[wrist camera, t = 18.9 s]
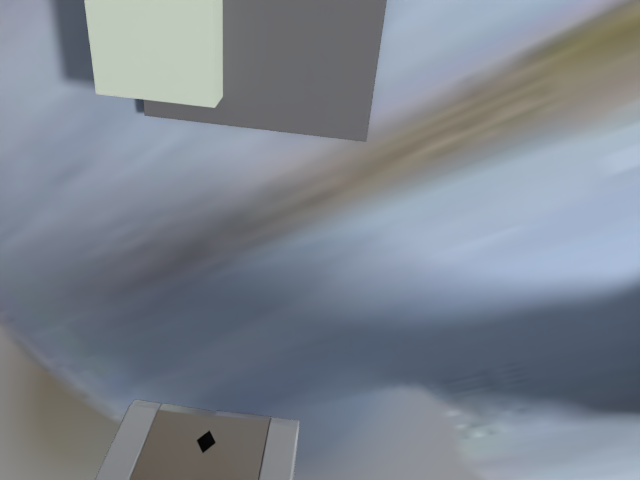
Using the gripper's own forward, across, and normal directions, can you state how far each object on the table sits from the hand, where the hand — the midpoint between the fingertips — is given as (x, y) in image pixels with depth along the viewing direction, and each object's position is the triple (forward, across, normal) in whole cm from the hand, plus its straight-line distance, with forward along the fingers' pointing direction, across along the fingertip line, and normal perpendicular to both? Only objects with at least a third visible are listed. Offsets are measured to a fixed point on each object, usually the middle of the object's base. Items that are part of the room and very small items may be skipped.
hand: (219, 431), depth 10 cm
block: (+26, +6, 0) cm, 26 cm away
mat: (+27, +4, 0) cm, 27 cm away
